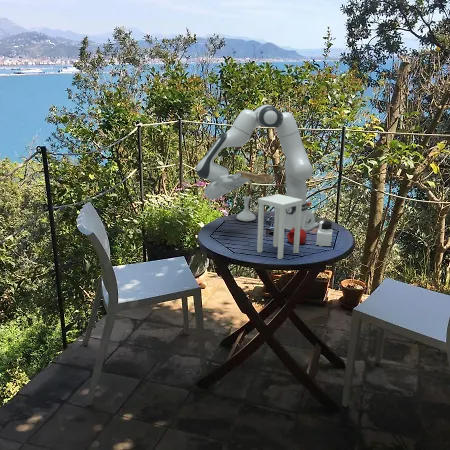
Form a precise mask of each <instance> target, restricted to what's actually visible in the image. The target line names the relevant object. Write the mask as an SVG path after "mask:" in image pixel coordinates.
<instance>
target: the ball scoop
mask: <svg viewBox="0 0 450 450" xmlns="http://www.w3.org/2000/svg"><path fill="white" fill-rule="evenodd" d="M248 172H249V171H243V170H236V171H235V174H238V173H242V176H241V177H242V178H247V179H251V180H250V181H252V180H253V182H256V183H261V184H268V183H273V182H274V175H271V174H267V173H260V174H259V173H258V174H257V173H253V172H250V173H248Z"/></svg>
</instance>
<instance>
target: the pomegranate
mask: <svg viewBox="0 0 450 450" xmlns="http://www.w3.org/2000/svg"><path fill="white" fill-rule="evenodd" d="M291 228H293V229H291V230H289V231H288V232H287V234H286V239H287V241H288V243H290V244H292V245H294V233H295V228H294V227H291ZM300 228H302V227H300ZM307 237H308V235H307V231H304V229H300V240H299V245H303V244H305V242H306V241H307Z"/></svg>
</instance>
